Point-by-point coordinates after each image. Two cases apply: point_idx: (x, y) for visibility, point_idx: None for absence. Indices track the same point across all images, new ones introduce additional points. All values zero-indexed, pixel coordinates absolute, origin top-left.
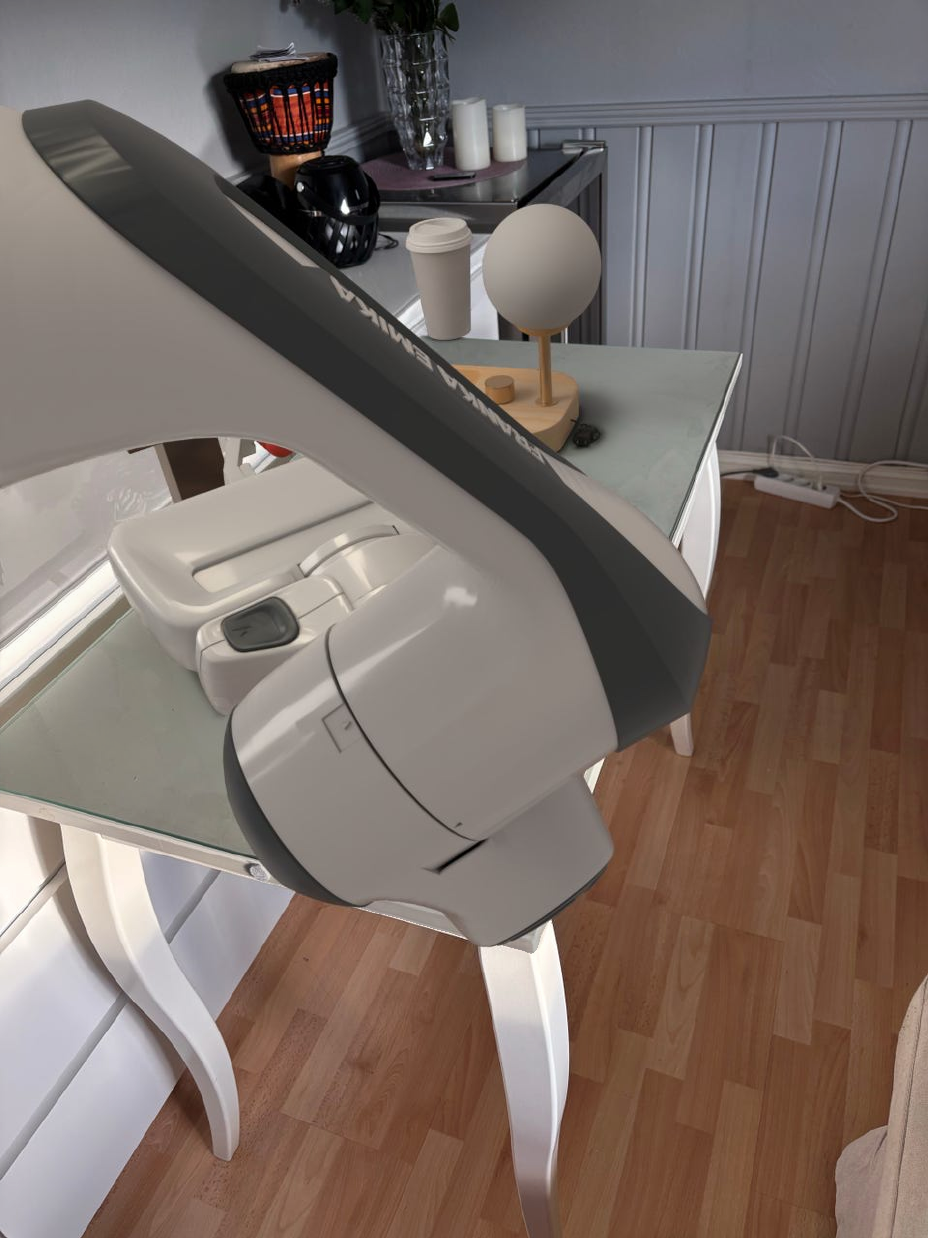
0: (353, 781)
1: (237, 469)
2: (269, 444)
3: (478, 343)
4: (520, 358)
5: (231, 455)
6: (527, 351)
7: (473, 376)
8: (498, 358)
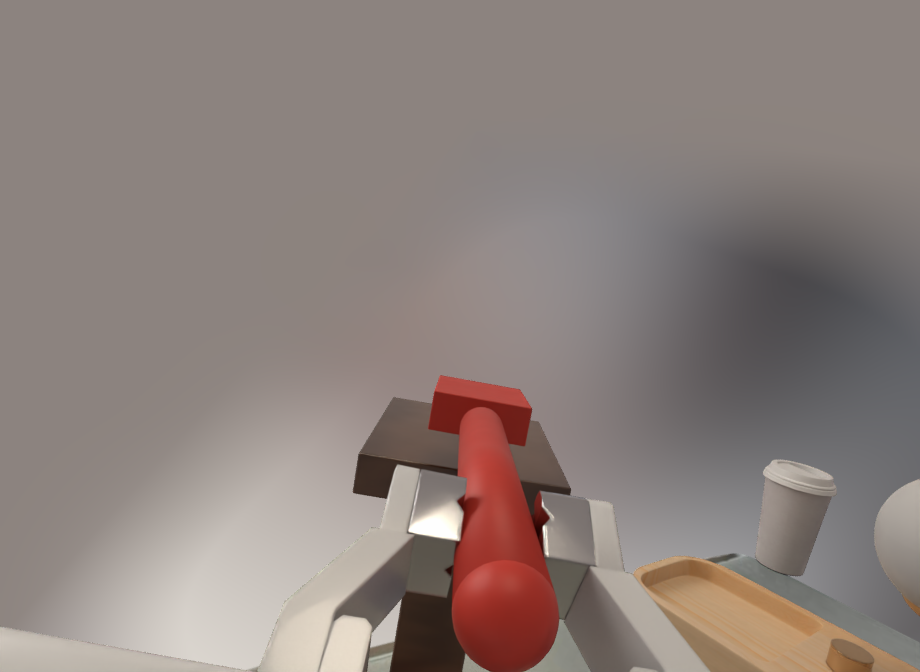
0: None
1: (322, 625)
2: (461, 602)
3: (810, 591)
4: (863, 631)
5: (347, 570)
6: (873, 628)
7: (807, 624)
8: (834, 618)
